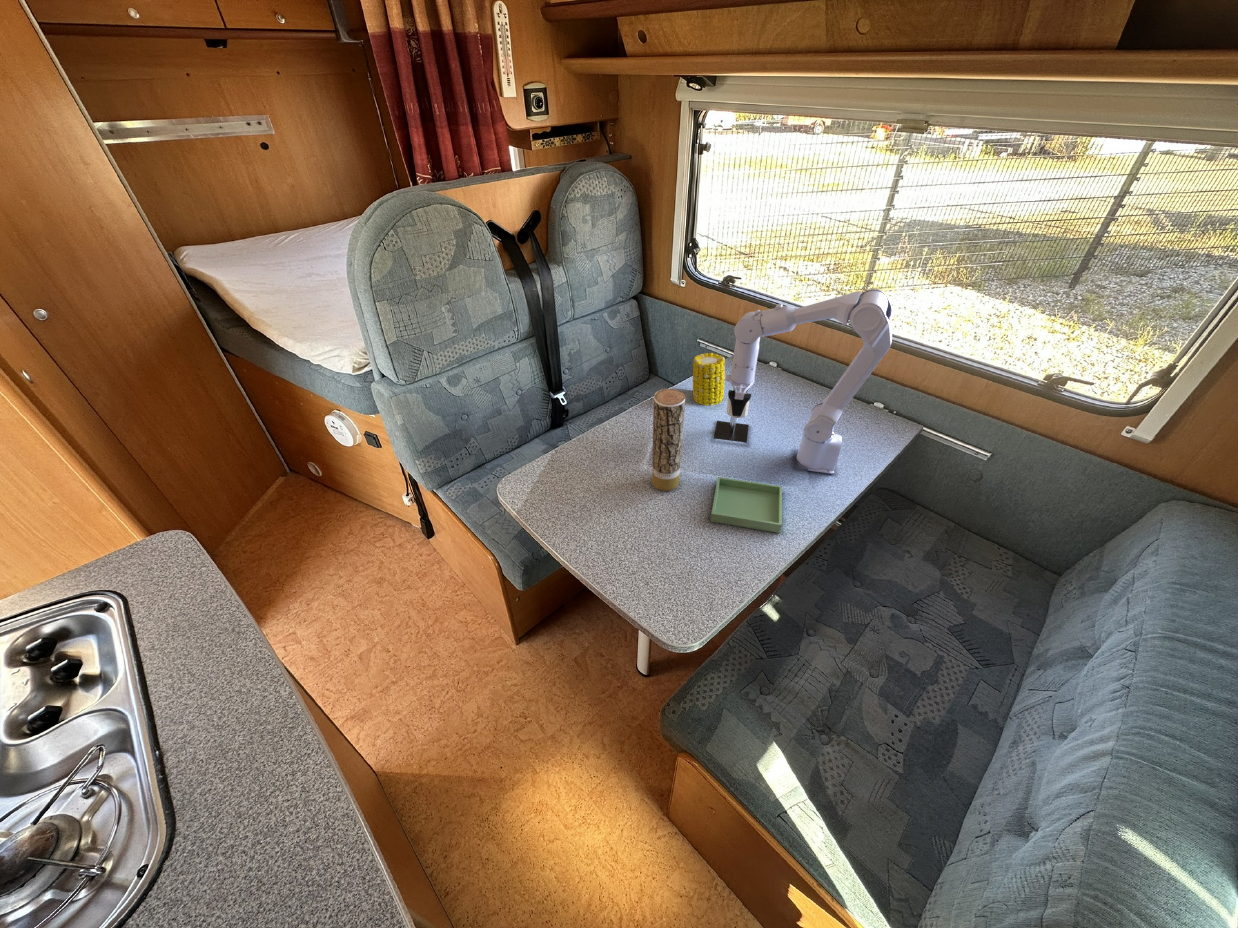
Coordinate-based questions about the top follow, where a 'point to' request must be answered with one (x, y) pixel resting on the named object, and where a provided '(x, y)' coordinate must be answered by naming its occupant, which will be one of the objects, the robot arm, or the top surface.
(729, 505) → the tray
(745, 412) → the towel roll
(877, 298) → the robot arm
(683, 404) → the bark log
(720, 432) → the stand
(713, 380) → the food
